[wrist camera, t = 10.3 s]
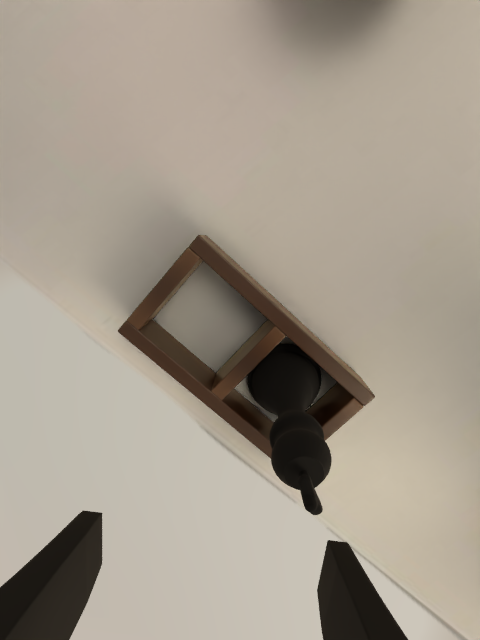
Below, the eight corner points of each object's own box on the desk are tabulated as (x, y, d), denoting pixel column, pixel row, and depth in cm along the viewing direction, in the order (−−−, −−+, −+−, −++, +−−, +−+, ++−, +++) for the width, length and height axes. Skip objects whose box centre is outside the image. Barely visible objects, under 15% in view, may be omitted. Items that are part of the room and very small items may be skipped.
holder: (284, 446, 21) (288, 473, 19) (134, 319, 19) (117, 331, 17) (361, 377, 20) (375, 397, 17) (206, 234, 18) (198, 234, 16)
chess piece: (306, 332, 19) (359, 429, 10) (330, 396, 20) (400, 545, 10) (236, 358, 20) (220, 473, 10) (262, 419, 21) (270, 579, 11)
